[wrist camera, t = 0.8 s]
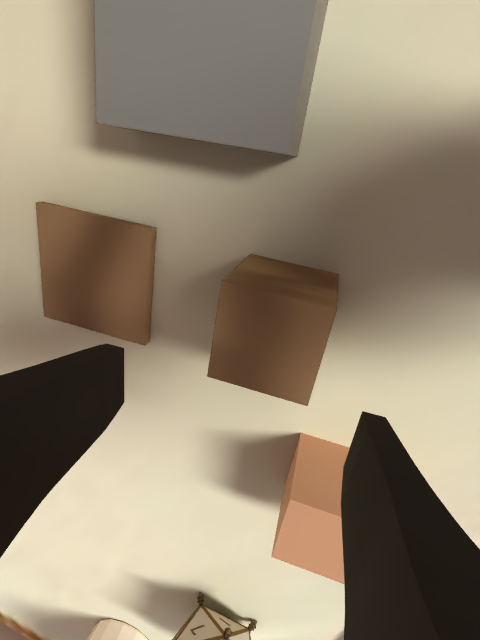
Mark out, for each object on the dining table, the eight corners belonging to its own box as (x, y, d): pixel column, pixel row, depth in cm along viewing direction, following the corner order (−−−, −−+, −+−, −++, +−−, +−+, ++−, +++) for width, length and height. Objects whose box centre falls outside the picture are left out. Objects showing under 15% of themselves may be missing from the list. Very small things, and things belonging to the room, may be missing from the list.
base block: (345, -81, 13) (346, -158, 10) (298, 157, 17) (287, 154, 13) (145, -91, 15) (92, -162, 11) (139, 130, 18) (96, 122, 15)
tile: (156, 227, 19) (151, 229, 19) (148, 342, 22) (145, 345, 22) (42, 201, 20) (36, 202, 20) (49, 313, 23) (44, 316, 23)
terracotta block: (376, 455, 21) (384, 532, 17) (353, 507, 23) (355, 588, 19) (301, 432, 22) (289, 499, 17) (284, 483, 24) (271, 556, 19)
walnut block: (338, 274, 18) (337, 309, 13) (315, 352, 20) (307, 406, 15) (250, 253, 19) (221, 280, 14) (236, 330, 20) (207, 376, 16)
